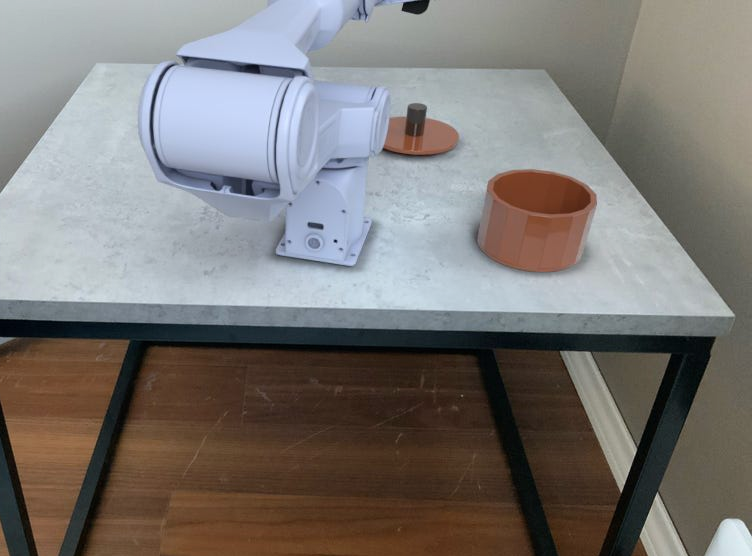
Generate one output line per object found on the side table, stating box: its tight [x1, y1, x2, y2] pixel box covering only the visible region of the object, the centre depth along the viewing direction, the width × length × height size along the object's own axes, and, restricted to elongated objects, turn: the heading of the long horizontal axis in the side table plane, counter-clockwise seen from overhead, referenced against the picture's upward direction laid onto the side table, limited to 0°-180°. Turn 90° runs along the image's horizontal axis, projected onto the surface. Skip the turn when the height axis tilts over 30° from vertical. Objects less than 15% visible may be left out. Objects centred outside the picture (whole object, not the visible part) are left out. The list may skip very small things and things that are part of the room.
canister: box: [476, 168, 598, 273], centre depth 78 cm, size 10×10×6 cm
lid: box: [383, 102, 460, 156], centre depth 99 cm, size 11×11×4 cm
